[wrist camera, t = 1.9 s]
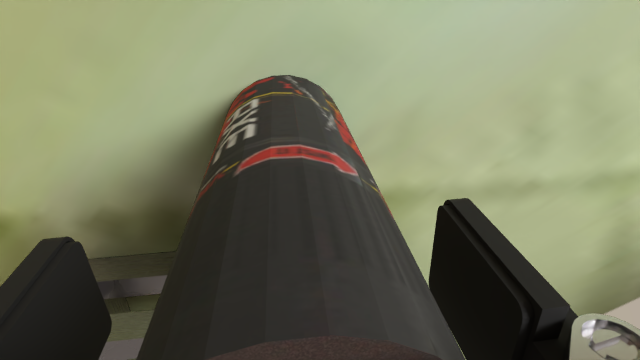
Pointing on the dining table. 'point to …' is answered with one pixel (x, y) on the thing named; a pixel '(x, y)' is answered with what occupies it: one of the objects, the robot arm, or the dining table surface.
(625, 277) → the dining table surface
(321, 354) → the deodorant
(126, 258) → the grey open cube frame
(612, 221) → the dining table surface
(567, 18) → the dining table surface
